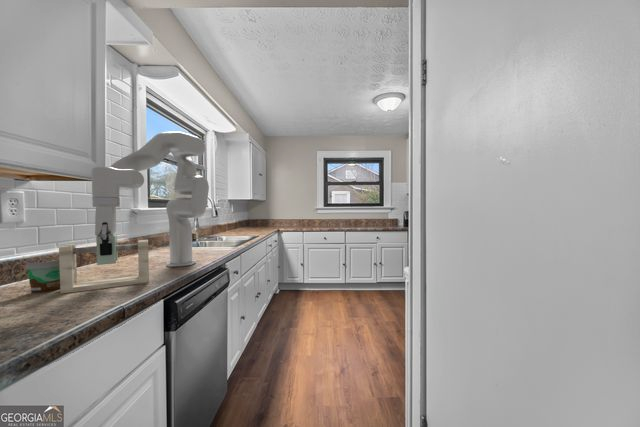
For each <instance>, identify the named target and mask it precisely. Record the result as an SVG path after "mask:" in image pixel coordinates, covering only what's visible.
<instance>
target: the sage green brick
mask: <svg viewBox="0 0 640 427" xmlns="http://www.w3.org/2000/svg"><path fill="white" fill-rule="evenodd" d="M95 237H96V239H95V240H96V242H95V243H96V244H95V245H96V247H97V252H96V265H97V266H102V265H113V264H114V265H115V264H117V262H118V261H119V259H118V258H119V257H118V256H119V255H118V252H119V251H116V245H118V234H117V233H115V234H113V235H111V243H112V255H104V256H101V255H100V235H99V236H95ZM108 237H109V236H108Z"/></svg>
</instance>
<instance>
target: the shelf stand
mask: <svg viewBox="0 0 640 427" xmlns="http://www.w3.org/2000/svg"><path fill="white" fill-rule="evenodd" d="M135 250H137V253H138V254H137V255H138V257H137V258H138V260H137V261H138V262H137V264H138V275H135V276H134V275H133V276H128V277H126V276H125V277H118V278H116V277H115V278H109V279H108V278H107V279H100V280H92V281H84V282H83V281H82V282H78V272H77V271H78V270H77V269H78V268H77V267H78V266H77V255H81V254H94V253H97V246H84V247H77V245H76V243H73V244H62V245H59V247H58V258H59V259H58V260H59V264H60V289H59V290H60V295H62V294H68V293H69V294H70V293H76V292H84V291H92V290H100V289H106V288H113V287H114V288H115V287H123V286H130V285H132V286H133V285H138V284H139V285H140V284H146V283H150V268H149V267H150V264H149V239H138V241H137V243H132V244H130V243H129V244H117V245H116V251H118V252H120V251H121V252H122V251H135Z"/></svg>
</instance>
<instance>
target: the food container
mask: <svg viewBox="0 0 640 427" xmlns="http://www.w3.org/2000/svg"><path fill="white" fill-rule="evenodd" d="M24 270H27V275H28V280H29V286H30V292H31V293H33V294H34V293H35V294H36V293H39V294H40V293H47V292H54V291H58V290H60V264H59V259H56V260H55V259H54V260H52V259H51V260H45V261H40V262H39V261H38V262H37V261H36V262H26V264H25V266H24Z"/></svg>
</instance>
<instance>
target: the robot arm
mask: <svg viewBox="0 0 640 427" xmlns="http://www.w3.org/2000/svg"><path fill="white" fill-rule="evenodd" d="M205 151H206V144H205V142H204V141H203V140H202V138H201V137H200V138H199V137H198V136H195V135H192V134H189V133H185V132H182V131H177V130H176V131H164V132H158V133H157V134H156V135H155V134H154V136H153V137H152V138H150V139H149V140H148V141H147V142H146V143H145V144H143V146H142V147H140V148H139V149H138V150H135V151H133V152H132V153H130V154H128V155H126V156H124V157H122V158H120V159H119V160H117V161H114V162H113V164H111V165H110V166H94V167H93V168H92V169H91V190H92V191H91V193H92V194H91V195H92V196H91V197H92V198H91V200H92V208H95V218H94V219H95V220H94V224H95V225H94V234H95V235H94V236H95V237H97V236H99V235H100V255H101V256H104V255H112V243H111V235H113V234H116V232H117V231H116V230H117V229H116V228H117V209H116V208H120V207H121V204H120V202H121V200H120V199H121V198H120V196H121V195H120V190H137V189H140V188H141V187H142V186H143V185H144V183H145V178H144V175H143V174H142V173H141V171H146V170H149V169H152V168H154V167H157V166H158V165H160V164H161V163H162V162H163V160H165V158H166V157H167V156H168V155H169V154H171V155H172V156H173V157H174V159H175V162H176V165H177V168H176V169H177V170H176V175H175V181H174V187H173V189H174V192H175V195H178V196H181V197H175V198H171V199H169V200H168V201H167V204H166V205H165V206H166V214H167V218H168V224H169V227H168V228H169V229H168V230H169V234H168V235H169V261H167V262H166V267H186V266H192V265H195V264H196V263H197V260H196V259H193V226H192V223H191V221H190V219H198V218H201V217H203V216H204V214H205V213H206V208H207V203H208V198H209V189H210V187H209V186H210V185H209V182H208V180H207V179H206V177H204V176H202V175H197V169H198V168H197V165H196V163H195V161H194V160H193V159H192V158H191V157H200V156H202V155H204V153H205ZM182 196H183V197H182ZM186 196H187V197H186ZM188 196H189V197H188ZM108 236H109V237H108Z"/></svg>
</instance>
